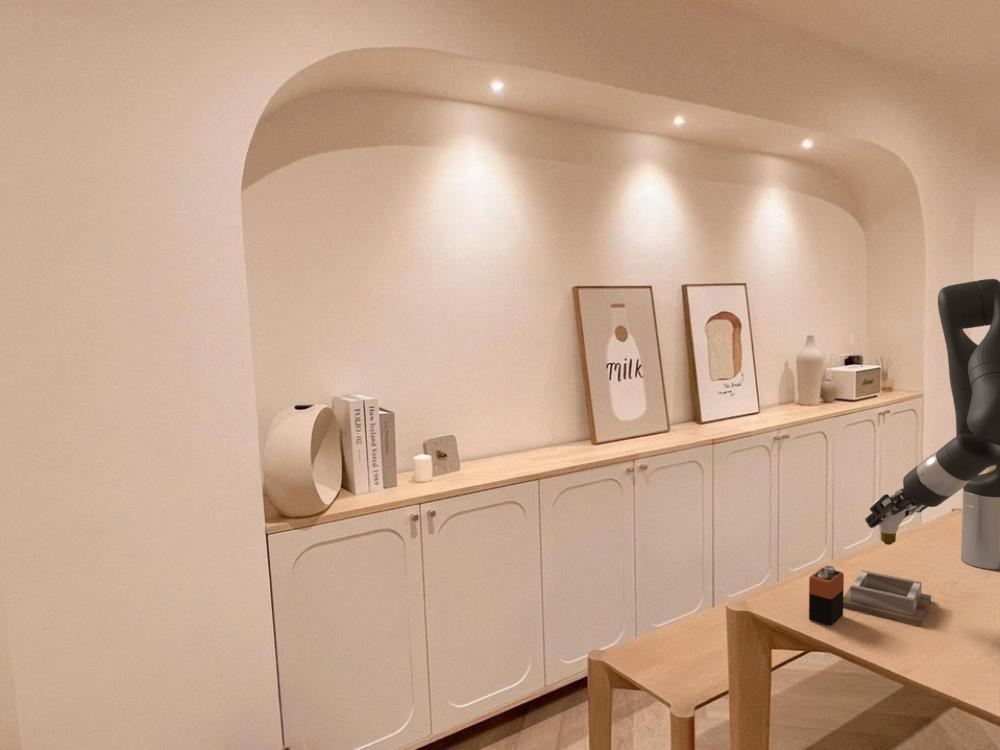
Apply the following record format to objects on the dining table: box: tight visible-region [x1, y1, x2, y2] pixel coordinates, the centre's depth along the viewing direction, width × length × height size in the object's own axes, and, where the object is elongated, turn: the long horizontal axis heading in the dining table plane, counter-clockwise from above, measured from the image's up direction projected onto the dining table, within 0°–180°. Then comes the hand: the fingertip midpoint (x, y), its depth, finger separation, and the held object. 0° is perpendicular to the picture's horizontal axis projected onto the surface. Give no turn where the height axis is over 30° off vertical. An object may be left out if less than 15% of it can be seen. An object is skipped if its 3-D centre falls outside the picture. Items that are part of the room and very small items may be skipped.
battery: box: [808, 565, 845, 627], centre depth 127 cm, size 4×7×10 cm, turn 133°
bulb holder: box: [843, 569, 932, 627], centre depth 133 cm, size 14×14×4 cm
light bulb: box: [872, 495, 906, 546], centre depth 131 cm, size 6×6×10 cm
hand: (880, 521), depth 133 cm, fingers closed on light bulb, 6 cm apart
